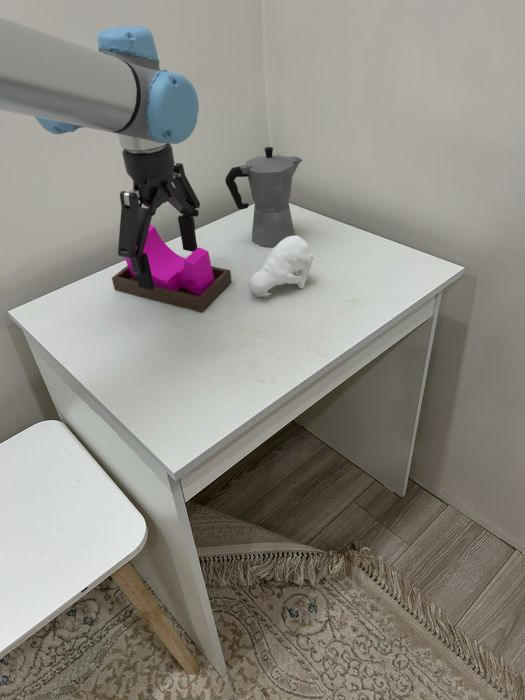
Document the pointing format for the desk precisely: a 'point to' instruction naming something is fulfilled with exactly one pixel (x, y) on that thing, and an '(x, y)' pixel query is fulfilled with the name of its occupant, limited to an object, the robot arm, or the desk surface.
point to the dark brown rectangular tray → (178, 298)
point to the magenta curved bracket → (176, 266)
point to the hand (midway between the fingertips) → (169, 268)
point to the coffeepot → (267, 195)
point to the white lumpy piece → (283, 266)
